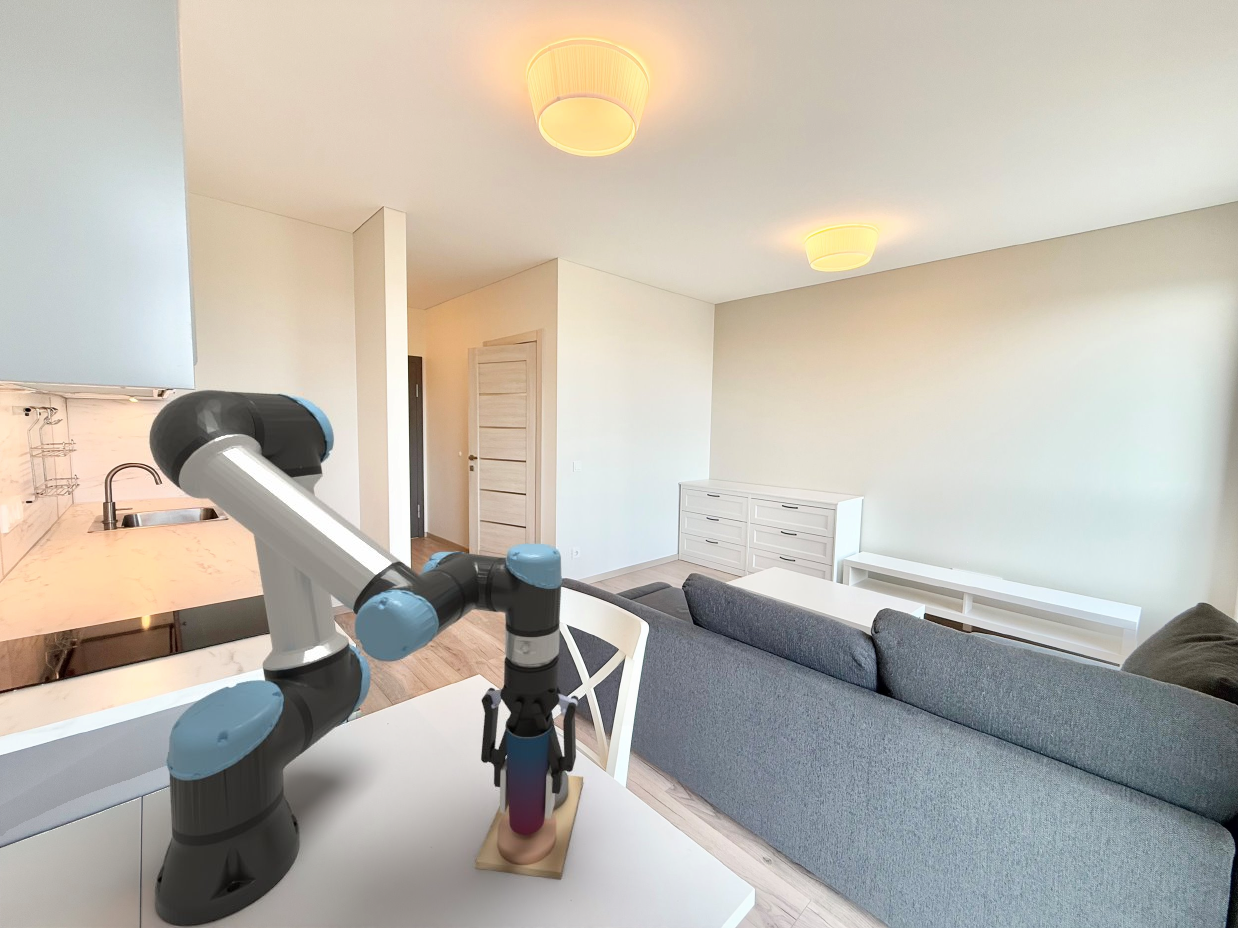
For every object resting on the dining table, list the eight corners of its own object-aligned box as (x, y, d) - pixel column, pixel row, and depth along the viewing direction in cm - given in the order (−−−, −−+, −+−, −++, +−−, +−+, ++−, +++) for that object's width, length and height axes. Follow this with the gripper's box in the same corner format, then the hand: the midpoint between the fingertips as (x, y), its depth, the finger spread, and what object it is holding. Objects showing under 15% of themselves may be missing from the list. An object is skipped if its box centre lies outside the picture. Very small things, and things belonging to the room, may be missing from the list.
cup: (494, 834, 68) (497, 733, 67) (514, 798, 75) (517, 705, 74) (540, 844, 67) (544, 741, 66) (556, 807, 74) (560, 712, 72)
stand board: (475, 867, 67) (475, 847, 67) (515, 774, 85) (515, 758, 85) (560, 878, 66) (561, 858, 66) (583, 782, 84) (583, 765, 84)
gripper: (455, 662, 66) (453, 821, 68) (594, 674, 64) (587, 838, 66) (477, 637, 73) (474, 782, 75) (601, 648, 72) (595, 796, 74)
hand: (527, 807), depth 71 cm, fingers closed on cup, 6 cm apart
